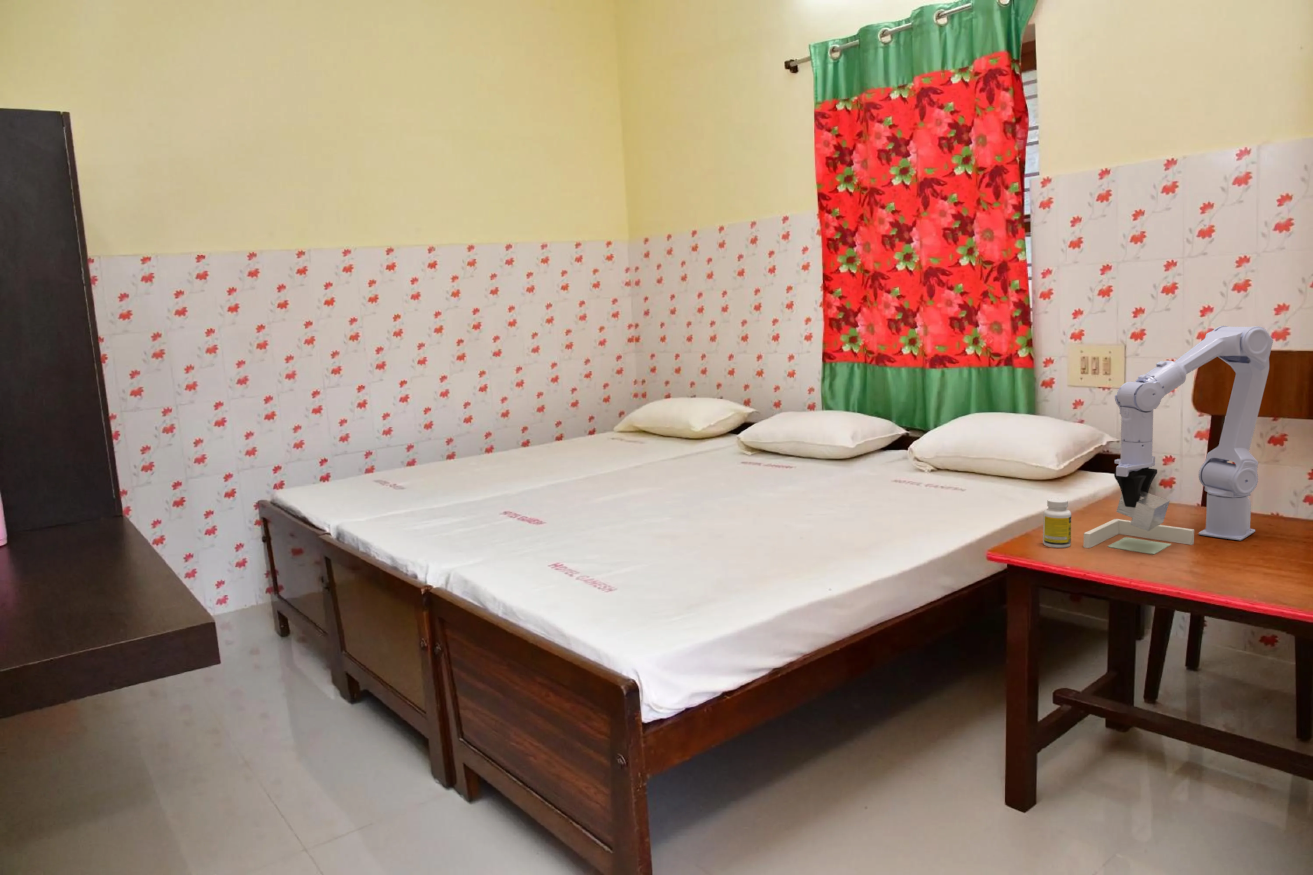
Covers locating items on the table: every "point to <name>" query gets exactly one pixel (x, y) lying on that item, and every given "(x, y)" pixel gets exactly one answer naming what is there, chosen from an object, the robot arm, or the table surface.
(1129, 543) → the mat
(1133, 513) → the bracket
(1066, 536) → the supplement bottle
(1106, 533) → the arena
